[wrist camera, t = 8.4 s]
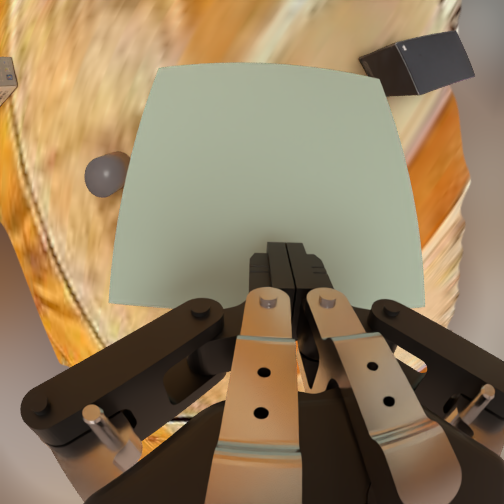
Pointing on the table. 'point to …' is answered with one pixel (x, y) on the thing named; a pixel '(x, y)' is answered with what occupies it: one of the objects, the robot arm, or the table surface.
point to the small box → (419, 64)
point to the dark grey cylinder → (107, 174)
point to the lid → (265, 186)
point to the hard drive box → (6, 78)
